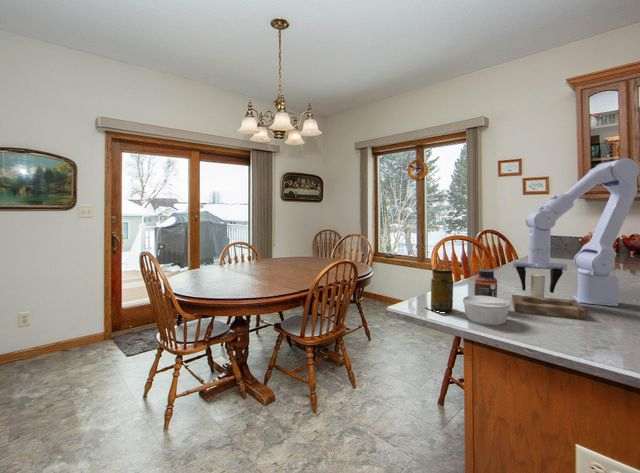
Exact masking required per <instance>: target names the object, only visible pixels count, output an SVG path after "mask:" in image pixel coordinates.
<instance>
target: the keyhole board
mask: <svg viewBox="0 0 640 473" xmlns="http://www.w3.org/2000/svg"><path fill="white" fill-rule="evenodd" d="M511 306H512V308H513V311H514V312H516V313H521V314H522V313H524V314H532V315H541V316H550V317H551V316H552V317H560V318H570V319H578V320H580V319H581V320H586V310H585V308H583V307H582V306H581V305H580V304H579V302H578V301H577V300H576V299H563V298H554V297H553V298H552V297H544V298H543V297H531V295H519V294H511Z"/></svg>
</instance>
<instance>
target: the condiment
mask: <svg viewBox="0 0 640 473" xmlns="http://www.w3.org/2000/svg"><path fill="white" fill-rule="evenodd" d="M430 281H431V282H430V293H431V294H430V307H431V309H432V310H435V311H433V312H435V313H437V312H436V311H439V313H437V314H440V315H442V316H450V315H458V314H465V311H464V312H463V311H461V310H458V309H455V308H453V307H454V306H453V305H454V280H453V270H452V269H449V268H441V267H438V268H437V267H436V268H434V269H433V270H432V278H431V280H430ZM440 312H445V313H440Z"/></svg>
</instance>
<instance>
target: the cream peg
mask: <svg viewBox="0 0 640 473" xmlns="http://www.w3.org/2000/svg"><path fill="white" fill-rule="evenodd" d="M530 276H531V278H530V296H531V297H543V298H545V285H546V284H545V281H546V279H545V277H546V276H545V275H542V274H531V275H530Z"/></svg>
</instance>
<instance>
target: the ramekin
mask: <svg viewBox="0 0 640 473" xmlns="http://www.w3.org/2000/svg"><path fill="white" fill-rule="evenodd" d="M462 303H463V304H464V307H463V308H464V314H465V317H466V318H467V320H469V321H471V322H473V323H476V324H479V325H486V326H500V325H504V324H505V323H506V321H507V319H508V314H509V310H510V308H511V302H509V301H508V300H506V299H504V298H501V297H498V296H497V297H491V296H477V295H476V296H475V295H467V296H465V297H464V298H463V299H462Z"/></svg>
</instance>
